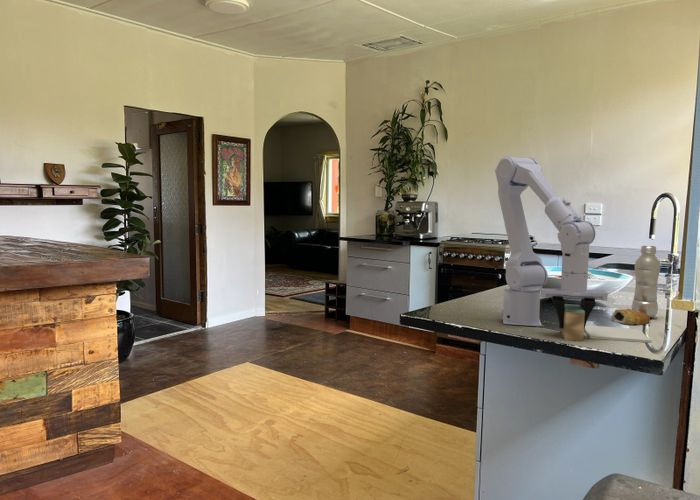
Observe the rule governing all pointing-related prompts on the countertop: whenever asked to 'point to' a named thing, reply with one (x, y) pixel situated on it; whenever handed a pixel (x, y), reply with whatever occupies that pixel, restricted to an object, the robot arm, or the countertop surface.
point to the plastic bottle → (646, 282)
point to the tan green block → (573, 322)
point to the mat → (616, 334)
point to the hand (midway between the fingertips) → (571, 328)
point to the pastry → (630, 317)
